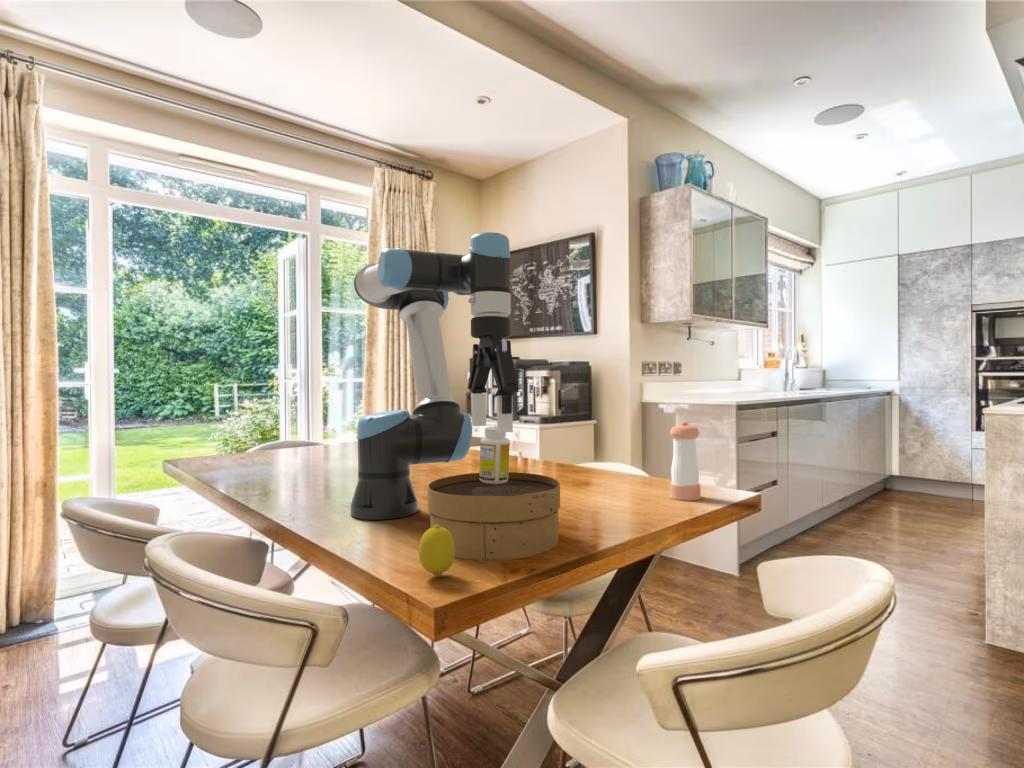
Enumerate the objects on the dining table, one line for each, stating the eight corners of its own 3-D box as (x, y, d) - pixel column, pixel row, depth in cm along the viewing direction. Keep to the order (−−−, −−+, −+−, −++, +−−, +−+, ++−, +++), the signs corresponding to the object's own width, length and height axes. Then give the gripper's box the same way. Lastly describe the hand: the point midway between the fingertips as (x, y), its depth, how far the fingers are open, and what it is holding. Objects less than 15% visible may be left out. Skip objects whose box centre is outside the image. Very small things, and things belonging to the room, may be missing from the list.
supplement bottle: (506, 478, 106) (508, 426, 106) (510, 485, 101) (512, 430, 100) (477, 478, 105) (479, 425, 105) (480, 484, 100) (482, 429, 99)
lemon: (412, 577, 83) (411, 525, 83) (440, 568, 87) (439, 518, 87) (435, 586, 79) (434, 531, 79) (463, 576, 83) (462, 524, 83)
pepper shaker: (704, 500, 134) (703, 422, 134) (675, 501, 134) (674, 423, 134) (694, 494, 141) (693, 420, 141) (666, 494, 141) (665, 421, 141)
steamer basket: (587, 548, 97) (585, 485, 97) (453, 572, 86) (451, 501, 86) (526, 518, 119) (525, 467, 119) (414, 535, 109) (412, 478, 109)
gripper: (452, 322, 113) (453, 424, 113) (496, 308, 90) (497, 436, 90) (486, 323, 116) (486, 422, 116) (537, 310, 93) (537, 434, 93)
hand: (491, 428), depth 103 cm, fingers open, 13 cm apart
